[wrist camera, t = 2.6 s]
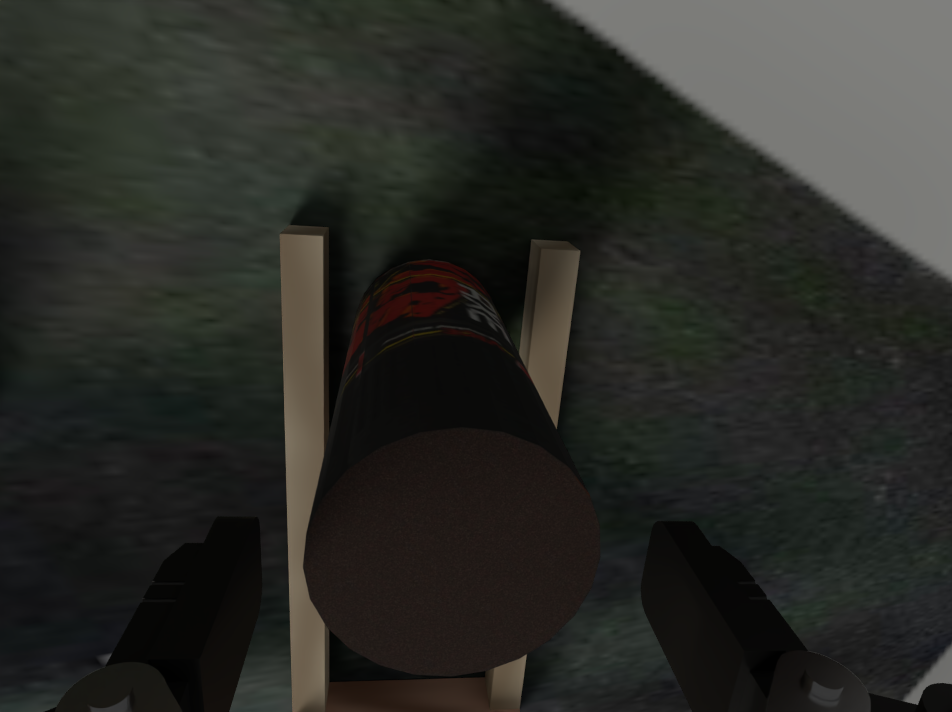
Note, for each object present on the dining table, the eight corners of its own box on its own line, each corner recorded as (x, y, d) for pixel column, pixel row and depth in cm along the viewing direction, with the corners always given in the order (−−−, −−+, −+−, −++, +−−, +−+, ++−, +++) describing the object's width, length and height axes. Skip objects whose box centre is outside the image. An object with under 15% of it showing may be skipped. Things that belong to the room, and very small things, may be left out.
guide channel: (299, 726, 33) (287, 803, 30) (289, 224, 25) (269, 244, 21) (507, 718, 35) (520, 790, 31) (567, 241, 26) (595, 262, 22)
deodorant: (516, 281, 26) (645, 465, 12) (472, 408, 28) (543, 694, 14) (375, 241, 25) (344, 393, 11) (339, 376, 27) (273, 653, 13)
